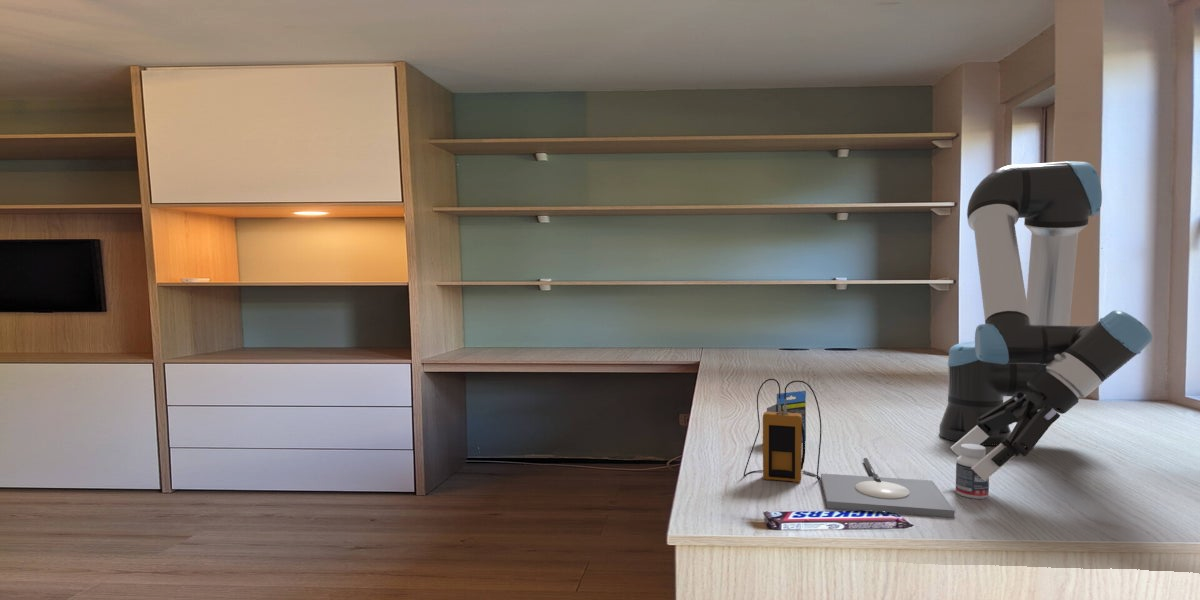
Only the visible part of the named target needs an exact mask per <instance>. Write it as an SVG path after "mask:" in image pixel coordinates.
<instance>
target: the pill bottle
mask: <svg viewBox="0 0 1200 600" xmlns="http://www.w3.org/2000/svg"><path fill="white" fill-rule="evenodd" d="M986 449H987V448H986V447H985V445H976V444H962V445H961V450H960V451H961V454H962V456H957V458H956V461H955V463H956V464H955V493H956V494H958V495H959V496H962V497H964V498H969V499H974V500H975V499H976V500H982V499H987V498H988V497H989V495H990V494H989V492H990V491H989V489H990V477H989V478H987V479H986V480H985V481H984V480H983V479H982V478H981V477H980V476H979V475H978V474H977V473H976V472H975V471H974V470H972V469H971V467H973V466H974V465H975V464H976V463H977V462H979V461H980V460H981V459H982V458H984V457H985V456H986V455H987V454H986V453H987V452H986Z"/></svg>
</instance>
